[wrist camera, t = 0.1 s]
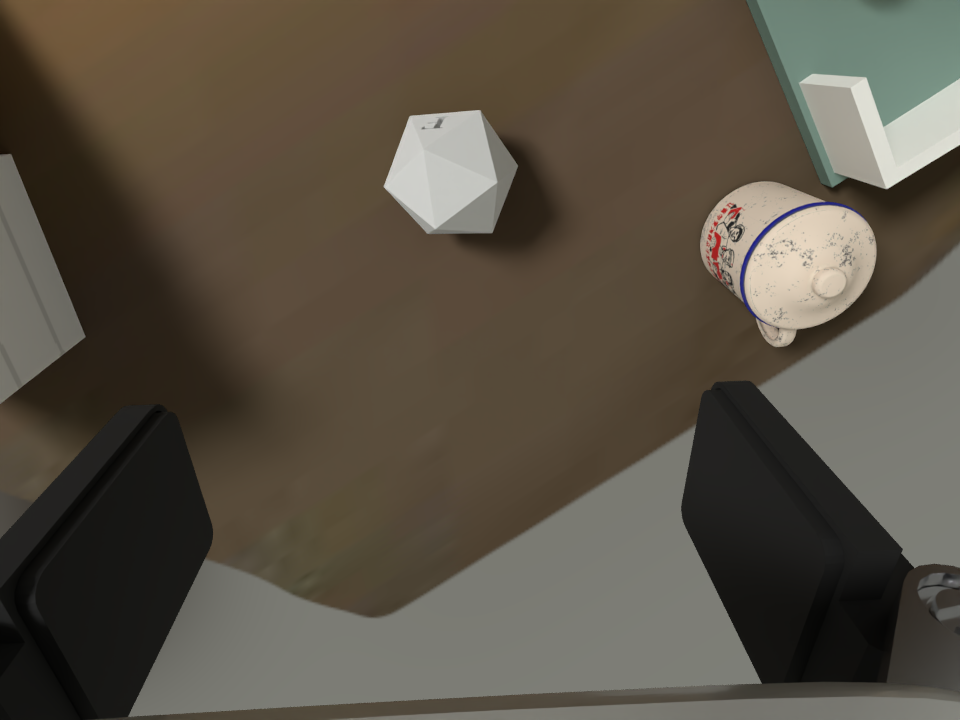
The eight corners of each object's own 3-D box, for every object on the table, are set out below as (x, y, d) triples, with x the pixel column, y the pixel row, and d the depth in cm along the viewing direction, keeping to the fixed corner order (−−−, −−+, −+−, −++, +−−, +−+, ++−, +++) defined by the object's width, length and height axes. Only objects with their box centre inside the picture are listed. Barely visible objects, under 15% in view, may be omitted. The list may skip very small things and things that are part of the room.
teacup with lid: (696, 187, 45) (767, 227, 35) (813, 168, 45) (919, 202, 35) (693, 325, 51) (754, 394, 41) (797, 308, 51) (885, 374, 40)
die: (530, 139, 44) (491, 74, 35) (522, 252, 44) (480, 216, 35) (431, 146, 47) (370, 86, 37) (422, 252, 46) (360, 218, 37)
